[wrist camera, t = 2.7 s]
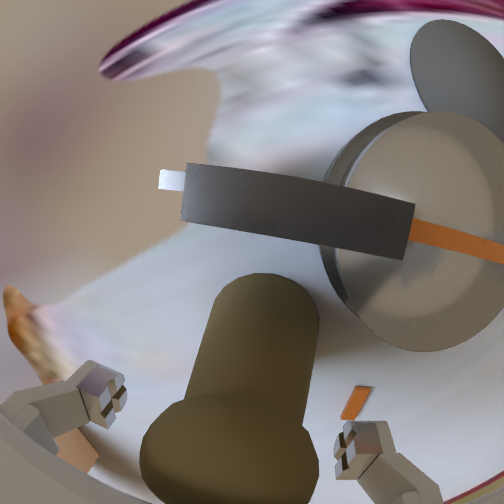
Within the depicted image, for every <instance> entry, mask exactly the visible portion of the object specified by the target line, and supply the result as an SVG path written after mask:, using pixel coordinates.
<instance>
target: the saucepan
mask: <svg viewBox="0 0 504 504" xmlns="http://www.w3.org/2000/svg"><path fill="white" fill-rule="evenodd" d="M181 221H184V222H191V223H197V224H203V225H209V226H215V227H221V228H227V229H233V230H239V231H245V232H251V233H256V234H262V235H268V236H273V237H279V238H285V239H290V240H296V241H301V242H307V243H312V244H318V245H323V246H329V247H332V250H333V256H334V260H335V264H336V267H337V270H338V273H339V275H340V278H341V280H342V283H343V285H344V287H345V290H346V292H347V295H348V297H349V299H350V301H351V303H352V305H353V307H354V309H355V311H356V313H357V314H358V316H359V317H360V318H361V320H362V321H363V322H364V324H365V325H366V326H367V327H368V328H369V329H370V330H371V331H372V332H373V333H374V334H375V335H377V336H378V337H380V338H381V339H382V340H384V341H385V342H387V343H389V344H391V345H393V346H395V347H398V348H401V349H405V350H409V351H416V352H432V351H439V350H443V349H447V348H450V347H453V346H456V345H458V344H460V343H462V342H465V341H466V340H468V339H470V338H471V337H473V336H475V335H476V334H477V333H479V332H480V331H481V330H482V329H484V328H485V327H486V326H487V325H488V324H489V323H490V322H491V321H492V320H493V319H494V318H495V317H496V316H497V315H498V313H499V312H500V311H501V310H502V309H503V307H504V144H503V143H502V142H501V141H500V140H499V139H498V138H497V137H496V135H495V134H493V133H492V132H491V131H490V130H489V129H487V128H486V127H485V126H484V125H482V124H480V123H479V122H477V121H475V120H474V119H471V118H469V117H466V116H464V115H461V114H457V113H453V112H446V111H433V112H426V113H421V114H418V115H415V116H412V117H409V118H407V119H405V120H403V121H401V122H399V123H397V124H395V125H393V126H391V127H389V128H387V129H385V130H384V131H382V132H380V133H378V134H377V135H376V136H374V137H373V138H372V139H371V140H369V141H368V142H367V143H366V144H365V145H364V146H363V147H362V148H361V149H360V150H359V151H358V152H357V154H356V155H355V157H354V158H353V160H352V161H351V162H350V164H349V165H348V167H347V169H346V171H345V173H344V175H343V177H342V179H341V182H340V184H339V185H334V184H329V183H324V182H319V181H314V180H309V179H303V178H297V177H292V176H286V175H280V174H273V173H267V172H260V171H253V170H246V169H238V168H230V167H222V166H213V165H204V164H194V163H187V167H186V175H185V183H184V192H183V201H182V211H181Z"/></svg>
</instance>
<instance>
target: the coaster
mask: <svg viewBox="0 0 504 504" xmlns="http://www.w3.org/2000/svg"><path fill="white" fill-rule="evenodd" d="M410 66H411V71H412V76H413V79H414V83H415V86H416V89H417V91H418V94H419V96H420V98H421V100H422V102H423V104H424V106H425V108H426V109H427V111H428V112H433V111H446V112H453V113H457V114H461V115H464V116H466V117H469V118H471V119H474V120H475V121H477V122H479V123H480V124H482V125H484V126H485V127H486V128H487V129H489V130H490V131H491V132H492V133H493V134H495V135H496V137H497V138H498V139H499V140H500V141H501V142H502V143H503V144H504V58H503V57H502V56H501V54H500V53H499V52H498V51H497V49H496V48H495V47H494V46H493V45H492V44H491V43H490V42H489V41H488V40H487V39H485V38H484V37H483V36H482V35H480V34H479V33H478V32H476V31H475V30H473V29H471V28H470V27H468V26H466V25H464V24H461V23H458V22H455V21H451V20H443V19H442V20H434V21H431V22H428V23H427V24H425V25H424V26H422V27H421V28H420V29H419V31H418V32H417V33H416V35H415V36H414V38H413V41H412V44H411V48H410Z"/></svg>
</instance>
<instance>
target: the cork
mask: <svg viewBox="0 0 504 504" xmlns="http://www.w3.org/2000/svg"><path fill="white" fill-rule="evenodd" d="M318 326H319V316H318V313H317V309H316V305H315V303H314V302H313V300H312V299H311V297H310V296H309V295H308V293H307V292H306V290H304V289H303V288H302V287H300V286H299V285H298V284H296V283H295V282H293V281H292V280H290V279H287V278H284V277H281V276H278V275H275V274H263V273H254V274H251V275H247V276H243V277H239V278H237V279H236V280H234V281H233V282H231V283H230V284H228V285H227V286H225V287H224V288H223V289H222V291H221V292H220V293H219V295H218V296H217V297H216V299H215V301H214V304H213V307H212V310H211V313H210V316H209V320H208V323H207V326H206V329H205V332H204V335H203V339H202V342H201V345H200V348H199V351H198V355H197V358H196V361H195V364H194V368H193V371H192V374H191V377H190V381H189V384H188V387H187V390H186V394H185V397H184V400H181V401H178V402H176V403H173V404H172V405H171V406H169V407H168V408H167V409H166V410H165V411H164V412H163V413H162V414H160V416H159V417H158V418H157V419H156V420H155V421H154V422H153V423H152V424H151V425H150V427H149V429H148V430H147V432H146V434H145V435H144V437H143V440H142V445H141V449H140V469H141V474H142V479H143V480H144V482H145V483H146V485H147V486H148V488H149V489H150V490H151V491H152V492H153V493H154V494H155V496H157V497H158V498H159V499H160V500H161V501H163V502H164V503H165V504H308V503H309V502H310V499H311V497H312V495H313V492H314V489H315V487H316V483H317V480H318V477H319V460H318V457H317V454H316V451H315V449H314V446H313V443H312V440H311V437H310V435H309V432H308V431H307V430H306V429H305V428H304V427H303V426H302V424H303V419H304V414H305V409H306V403H307V398H308V392H309V387H310V381H311V375H312V369H313V363H314V356H315V349H316V343H317V335H318Z"/></svg>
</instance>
